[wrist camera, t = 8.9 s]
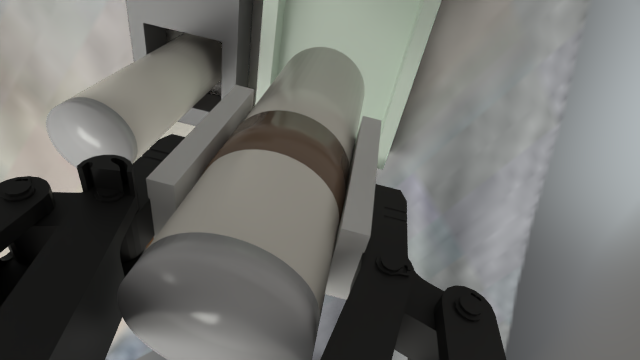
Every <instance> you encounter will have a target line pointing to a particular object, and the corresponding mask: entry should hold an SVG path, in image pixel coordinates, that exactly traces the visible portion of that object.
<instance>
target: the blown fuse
mask: <svg viewBox="0 0 640 360" xmlns="http://www.w3.org/2000/svg"><path fill="white" fill-rule="evenodd" d="M364 96H365V86H364V80H363V77H362V75H361V72H360V70H359V69H358V67H357V66H356V64H355V63H354V62H353V61H352V60H351V59H350V58H349V57H348V56H346V55H345V54H343V53H342V52H339V51H337V50H335V49H331V48H327V47H312V48H308V49H305V50H303V51H301V52H299V53H297V54H296V55H295V56H293V57H292V58H291V59H290V60H289V62H288V63H287V64H286V65H285V67H284V68H283V69H282V71H281V72H280V73H279V75H278V76H277V77H276V79H275V80H274V81H273V83H272V84H271V85H270V87H269V88H268V89H267V91H266V92H265V93H264V95H263V96H262V97H261V98H260V100H259V101H258V102H257V104H256V105H255V106H254V108H253V109H252V110H251V112H250V113H249V114H248V116H247V117H246V118H245V120H244V121H243V122H242V123H241V124H240V125H239V126H238V127H237V128H236V129H235V130H234V132H233V133H232V134H231V135H230V137H229V138H228V139H227V141H226V142H225V143H224V145H223V146H222V147H221V149H220V150H219V151H218V152H217V154H216V155H215V156H214V158H213V159H212V160H211V162H210V163H209V164H208V165H207V167H206V168H205V170H204V171H203V173H202V175H201V177H200V179H199V180H198V182H197V183H196V184H195V186H194V187H193V188H192V190H191V191H190V192H189V193H188V195H187V196H186V197H185V199H184V200H183V201H182V203H181V204H180V205H179V207H178V208H177V209H176V211H175V212H174V213H173V215H172V216H171V217H170V219H169V220H168V221H167V223H166V224H165V225H164V226H163V228H162V229H161V230H160V232H159V233H158V234H157V236H156V237H155V238H154V240H153V241H152V242H151V244H150V245H149V246H148V248H147V249H146V250H145V252H144V253H143V254H142V256H141V257H140V258H139V259H138V261H137V262H136V263H135V265H134V266H133V267H132V269H131V270H130V271H129V273H128V274H127V275H126V277H125V278H124V279H123V281H122V282H121V284H120V286H119V289H118V293H117V301H118V307H119V310H120V313H121V315H122V317H123V319H124V321H125V322H126V324H127V325H128V326H129V328H130V329H131V330H132V331H133V333H134V334H135V335H136V336H137V337H138V338H139V339H140V340H141V341H142V342H143V343H145V344H146V345H147V346H148V347H150V348H151V349H152V350H153V351H155V352H156V353H158V354H159V355H161V356H162V357H164V358H166V359H167V360H312V356H313V351H314V346H315V341H316V336H317V331H318V326H319V321H320V316H321V311H322V306H323V301H324V296H325V291H326V286H327V281H328V276H329V271H330V266H331V261H332V256H333V251H334V246H335V241H336V236H337V231H338V227H339V223H340V220H341V215H342V210H343V205H344V200H345V195H346V190H347V185H348V180H349V175H350V166H351V161H352V156H353V151H354V146H355V141H356V136H357V131H358V126H359V121H360V116H361V111H362V106H363V101H364Z"/></svg>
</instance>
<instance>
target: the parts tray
mask: <svg viewBox="0 0 640 360" xmlns="http://www.w3.org/2000/svg"><path fill="white" fill-rule="evenodd" d="M441 1H442V0H263V13H262V26H261V39H260V52H259V65H258V78H257V91H256V103H255V105H256V104H257V102H258V101H259V100H260V98H261V97H262V96H263V95H264V93H265V92H266V91H267V89H268V88H269V87H270V85H271V84H272V83H273V81H274V80H275V79H276V77H277V76H278V75H279V73H280V72H281V71H282V69H283V68H284V67H285V65H286V64H287V63H288V62H289V60H290V59H291V58H292V57H293V56H295V55H296V54H297V53H299V52H301V51H303V50H305V49H308V48H312V47H327V48H331V49H335V50H337V51H339V52H342V53H343V54H345V55H346V56H348V57H349V58H350V59H351V60H352V61H353V62H354V63H355V64H356V66H357V67H358V69H359V70H360V72H361V75H362V77H363V80H364V86H365V96H364V101H363V106H362V111H361V116H360V121H359V126H358V131H359V128H360V124H361V121H362V117H363V116H366V117H370V118H374V119H378V120H382V121H381V131H380V142H379V152H378V163H377V168H378V169H382V170H383V168H384V165H385V162H386V159H387V157H388V154H389V151H390V148H391V145H392V142H393V139H394V136H395V133H396V131H397V128H398V125H399V122H400V119H401V116H402V113H403V110H404V107H405V105H406V102H407V99H408V96H409V93H410V90H411V87H412V84H413V81H414V79H415V76H416V73H417V70H418V67H419V64H420V61H421V58H422V55H423V53H424V50H425V47H426V44H427V41H428V38H429V35H430V32H431V29H432V27H433V24H434V21H435V18H436V15H437V12H438V9H439V6H440V3H441ZM358 131H357V135H358ZM356 139H357V136H356ZM355 142H356V141H355Z"/></svg>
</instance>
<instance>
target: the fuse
mask: <svg viewBox="0 0 640 360" xmlns="http://www.w3.org/2000/svg"><path fill="white" fill-rule="evenodd" d="M221 80H222V46H221V45H220V43H219V42H218V41H217V40H213V39H209V38H205V37H201V36H197V35H192V34H188V33H184V34H182V35H181V36H179V37H177V38H175V39H174V40H172V41H170V42H168V43H167V44H165V45H163V46H161V47H160V48H158V49H156V50H154V51H152V52H151V53H149V54H147V55H145V56H144V57H142V58H140V59H138V60H137V61H135V62H133V63H131V64H130V65H128V66H126V67H124V68H123V69H121V70H119V71H117V72H115V73H114V74H112V75H110V76H108V77H107V78H105V79H103V80H101V81H100V82H98V83H96V84H94V85H93V86H91V87H89V88H87V89H86V90H84V91H82V92H80V93H78V94H77V95H75V96H73V97H71V98H70V99H68V100H66V101H64V102H63V103H61V104H59V105H57V106H56V107H54V108H53V109H52V110H51V111H50V112H49V114H48V116H47V120H46V127H47V132H48V135H49V138H50V140H51V142H52V144H53V145H54V147H55V148H56V150H57V151H58V152H59V153H60V154H61V156H62V157H63V158H64V159H66V160H67V161H68V162H69V163H70V164H71V165H73V166H74V167H76V168H77V165H79V164H80V163H81V162H82V161H84V160H86V159H88V158H91V157H94V156H99V155H118V156H122V157H125V158H126V159H128V160H130V161H131V163H132V164H133V163H134V162H135V161H136V160H137V159H138V158H139V157H140V156H141V155H142V154H143V153H144V152H145V151H147V150H148V149H149V148H150V147H151V146H152V145H153V144H154V143H155V142H156V141H157V140H158V139H159V138H160V137H161V136H162V135H163V134H164V133H166V132H167V131H168V130H169V129H170V128H171V127H172V126H173V125H174V124H175V123H176V122H177V121H178V120H179V119H180V118H181V117H182V116H184V115H185V114H186V113H187V112H188V111H189V110H190V109H191V108H192V107H193V106H194V105H195V104H196V103H197V102H198V101H199V100H200V99H202V98H203V97H204V96H205V95H206V94H207V93H208V92H209V91H210V90H211V89H212V88H213V87H214V86H215V85H216V84H217V83H218V82H220V81H221Z"/></svg>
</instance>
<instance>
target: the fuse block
mask: <svg viewBox="0 0 640 360" xmlns="http://www.w3.org/2000/svg"><path fill="white" fill-rule="evenodd" d="M126 6H127V14H128V22H129V29H130V37H131V45H132V52H133V60H134V62H135V61H137V60H138V59H140V58H142V57H144V56H145V55H147V54H149V53H151V52H152V51H154V50H156V49H158V48H160V47H161V46H163V45H165V44H167V40H166V28H167V29H171V30H176V31H180V32H184V33H188V34H192V35H197V36H201V37H205V38H209V39H213V40H217V41H222V83H221V96H217V95H213V94H209V93H207V94H206V95H205V96H204V97H203V98H202V99H200V100H199V101H198V102H197V103H196V104H195V105H194V106H193V107H192V108H191V109H190V110H189V111H188V112H187V113H186V114H185V115H184V116H182V117H181V118H180V119H179V120H178V121H177V122H181V123H185V124H189V125H193V126H197V125H198V124H199V123H200V122H201V121H202V120H203V119H204V118H205V117H206V116H207V114H208V113H209V112H210V111H211V110H212V109H213V108H214V107H215V106H216V105H217V104H218V103H219V102H220V101H221V100H222V99H223V98H224V97H225V96H226V95H227V94H228V93H229V92H230V91H231V90H232V88H233V87H234V86H235V85H239V86H243V87H247V88H248V75H249V59H250V43H251V26H252V10H253V0H126Z"/></svg>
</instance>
